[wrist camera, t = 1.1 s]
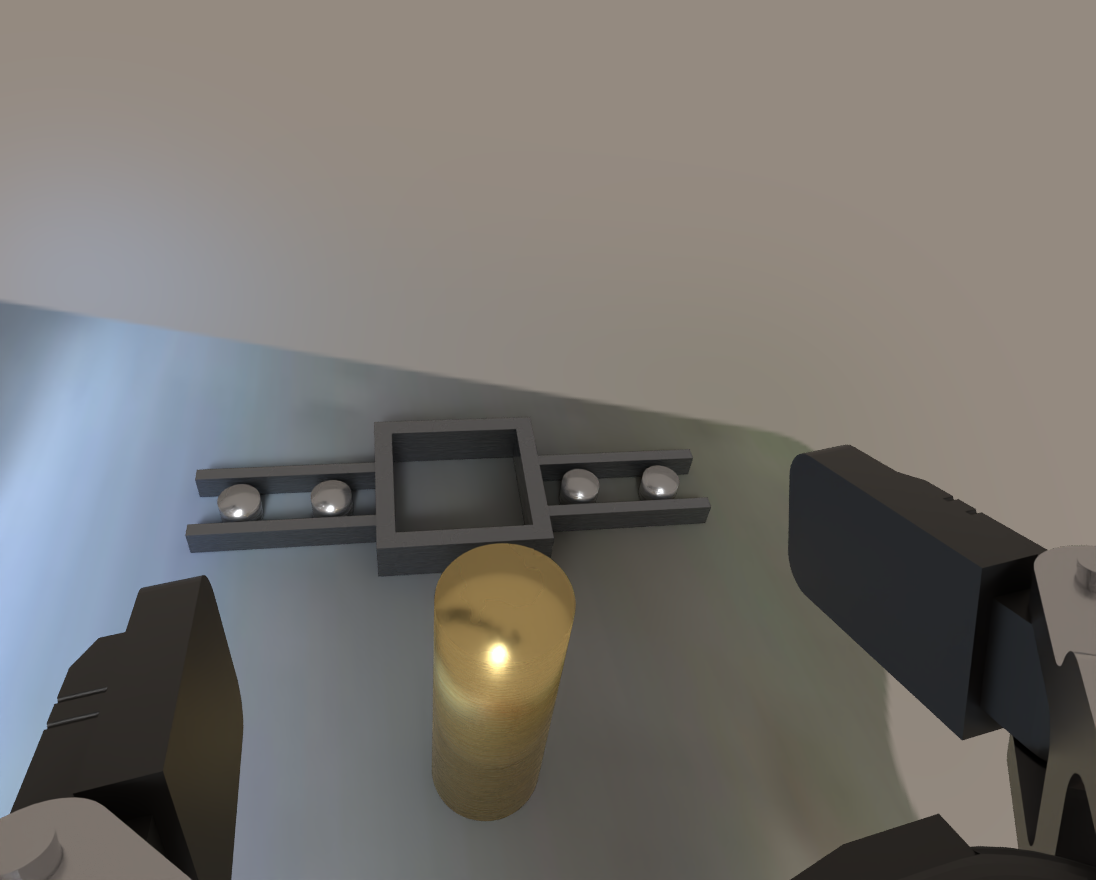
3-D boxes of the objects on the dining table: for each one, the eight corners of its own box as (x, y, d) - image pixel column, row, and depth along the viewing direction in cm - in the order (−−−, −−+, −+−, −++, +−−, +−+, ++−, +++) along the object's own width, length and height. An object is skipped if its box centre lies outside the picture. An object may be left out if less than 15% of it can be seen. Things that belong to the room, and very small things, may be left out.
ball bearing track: (184, 588, 36) (174, 560, 35) (206, 457, 41) (198, 428, 40) (716, 554, 40) (726, 527, 39) (675, 439, 45) (683, 412, 44)
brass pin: (409, 774, 32) (404, 607, 24) (478, 696, 34) (494, 522, 26) (493, 844, 30) (518, 690, 22) (559, 758, 33) (602, 592, 25)
